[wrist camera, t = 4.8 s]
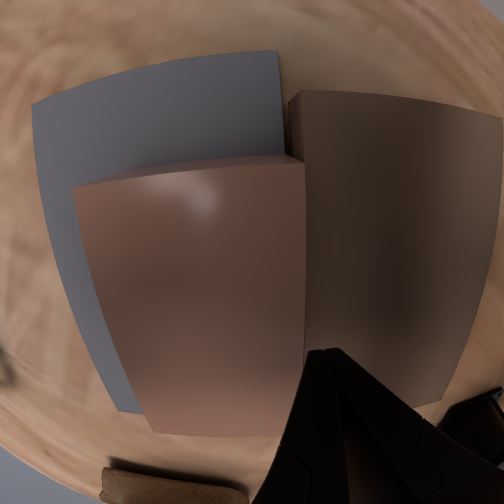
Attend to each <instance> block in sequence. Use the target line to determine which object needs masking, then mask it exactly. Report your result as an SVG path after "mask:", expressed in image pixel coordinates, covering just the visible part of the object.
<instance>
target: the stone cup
mask: <svg viewBox="0 0 504 504" xmlns="http://www.w3.org/2000/svg"><path fill="white" fill-rule="evenodd" d="M102 487H103V490H102V491H101V493H100V494H99V497H100V500H101V501H103V502H106V503H109V504H250V500H249V499H248V498H247V497H246V496H245V495H243V493H242V492H240V491H238V490H236V489H233V488H228V487H222V486H214V485H208V484H201V483H193V482H186V481H178V480H171V479H166V478H159V477H153V476H147V475H142V474H137V473H132V472H128V471H123V470H119V469H114V468H108V467H104V468H103V471H102Z"/></svg>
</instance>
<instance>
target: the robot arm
mask: <svg viewBox="0 0 504 504" xmlns="http://www.w3.org/2000/svg"><path fill="white" fill-rule="evenodd" d="M503 392H504V390H503V388H502V387H500V388H498V389H495V390H493V391H491V392H489V393H486V394H484V395H482V396H479V397H477V398H475V399H472V400H470V401H467V402H464V403H462V404H459V405H456V406H454V407H453V408H451V409H450V410H449V412H448V413H447V415H446V417H445V419H444V420H443V422H442V424H441V425H440V427H439V429H437V428H436V427H435V426H433V425H432V424H431V423H430V422H428V421H427V420H426V419H422V416H421V415H420V414H418V413H417V412H416V411H415V410H413V409H412V408H411V407H410V406H409V405H407V404H406V403H405V402H404V401H403V400H401V399H400V398H399V397H398V396H396V395H395V394H394V393H393V392H392V391H390V390H389V389H388V388H387V387H386V386H384V385H383V384H382V383H381V382H380V381H378V380H377V379H376V378H375V377H374V376H372V375H371V374H370V373H369V372H368V371H366V370H365V369H364V368H363V367H362V366H360V365H359V364H358V363H357V362H356V361H355V360H353V359H352V358H351V357H350V356H349V355H347V354H346V353H345V352H344V351H343V350H342V349H340V348H338V347H335V348H326V349H324V350H322V349H316V350H309V351H308V353H307V357H306V360H305V364H304V367H303V371H302V374H301V378H300V381H299V385H298V388H297V391H296V395H295V398H294V401H293V404H292V408H291V411H290V414H289V417H288V420H287V423H286V426H285V429H284V432H283V435H282V438H281V441H280V445H279V446H278V449H277V452H276V455H275V458H274V460H273V463H272V465H271V467H270V470H269V472H268V474H267V476H266V478H265V480H264V482H263V484H262V486H261V488H260V489H259V491H258V493H257V495H256V496H255V498H254V500H253V501H252V503H251V504H504V412H503V411H502V409H501V408H500V406H499V405H498V403H497V402H498V400H499V399H500V397H501V395H502V394H503Z"/></svg>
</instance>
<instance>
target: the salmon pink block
mask: <svg viewBox="0 0 504 504" xmlns="http://www.w3.org/2000/svg"><path fill="white" fill-rule="evenodd" d="M72 191H73V197H74V203H75V208H76V214H77V219H78V224H79V228H80V233H81V238H82V242H83V246H84V250H85V254H86V258H87V262H88V266H89V270H90V273H91V277H92V281H93V284H94V287H95V291H96V294H97V297H98V301H99V304H100V307H101V310H102V313H103V316H104V319H105V322H106V325H107V328H108V330H109V333H110V336H111V339H112V341H113V344H114V347H115V349H116V352H117V354H118V357H119V359H120V362H121V364H122V367H123V369H124V371H125V374H126V376H127V378H128V381H129V383H130V385H131V387H132V390H133V392H134V394H135V396H136V398H137V400H138V403H139V405H140V407H141V409H142V411H143V413H144V415H145V417H146V419H147V421H148V423H149V425H150V427H151V429H152V430H153V432H155V433H165V434H176V435H190V436H214V437H249V436H273V435H283V432H284V429H285V426H286V423H287V420H288V417H289V414H290V411H291V408H292V404H293V401H294V398H295V395H296V391H297V388H298V385H299V381H300V378H301V374H302V371H303V353H304V329H305V296H306V195H305V163H303V162H301V161H299V160H297V159H295V158H293V157H291V156H289V155H286V154H281V155H259V156H243V157H230V158H218V159H207V160H197V161H188V162H179V163H171V164H163V165H156V166H149V167H142V168H135V169H129V170H125V171H122V172H119V173H115V174H112V175H109V176H106V177H103V178H100V179H97V180H94V181H91V182H89V183H86V184H83V185H80V186H77V187H75V188H72Z"/></svg>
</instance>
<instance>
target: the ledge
mask: <svg viewBox="0 0 504 504" xmlns="http://www.w3.org/2000/svg"><path fill="white" fill-rule="evenodd" d="M288 108H289V123H290V140H291V157H293V158H295V159H297V160H299V161H301V162H303V163H305V195H306V296H305V329H304V353H303V367H304V364H305V360H306V357H307V353H308V351H309V350H316V349H322V350H324V349H326V348H335V347H338V348H340V349H342V350H343V351H344V352H345V353H346V354H347V355H349V356H350V357H351V358H352V359H353V360H355V361H356V362H357V363H358V364H359V365H360V366H362V367H363V368H364V369H365V370H366V371H368V372H369V373H370V374H371V375H372V376H374V377H375V378H376V379H377V380H378V381H380V382H381V383H382V384H383V385H384V386H386V387H387V388H388V389H389V390H390V391H392V392H393V393H394V394H395V395H396V396H398V397H399V398H400V399H401V400H403V401H404V402H405V403H406V404H407V405H409V406H410V407H411V408H416V407H419V406H423V405H426V404H430V403H433V402H436V401H439V400H441V399H442V397H443V395H444V393H445V391H446V389H447V387H448V385H449V383H450V380H451V378H452V376H453V374H454V371H455V369H456V367H457V364H458V362H459V360H460V357H461V355H462V352H463V350H464V347H465V344H466V342H467V339H468V336H469V334H470V331H471V328H472V325H473V322H474V319H475V316H476V313H477V309H478V306H479V303H480V299H481V296H482V292H483V289H484V285H485V281H486V277H487V273H488V269H489V264H490V259H491V255H492V250H493V244H494V239H495V233H496V227H497V220H498V212H499V204H500V194H501V182H502V162H503V126H502V118H499V117H495V116H492V115H488V114H484V113H481V112H477V111H473V110H469V109H464V108H460V107H456V106H451V105H446V104H441V103H436V102H430V101H424V100H418V99H411V98H404V97H397V96H389V95H379V94H369V93H356V92H339V91H299V92H298V93H297V94H296V95H295V96H294V97H293V98H292V99H291V100H290V101H289V102H288Z"/></svg>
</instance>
